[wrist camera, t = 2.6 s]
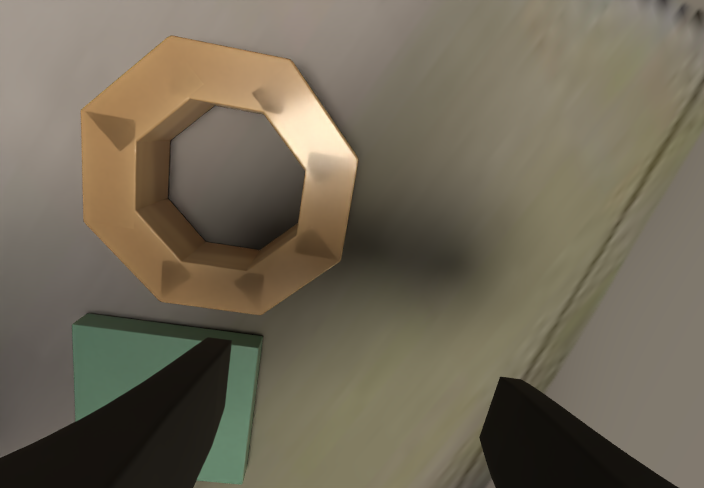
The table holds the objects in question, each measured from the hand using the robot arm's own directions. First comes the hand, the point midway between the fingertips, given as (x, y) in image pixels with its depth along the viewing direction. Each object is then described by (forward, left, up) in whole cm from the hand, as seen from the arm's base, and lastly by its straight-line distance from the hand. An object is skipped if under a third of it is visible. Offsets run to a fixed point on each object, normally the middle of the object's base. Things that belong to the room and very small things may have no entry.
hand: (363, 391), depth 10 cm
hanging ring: (-6, +3, -10) cm, 12 cm away
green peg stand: (-8, -9, -10) cm, 16 cm away
